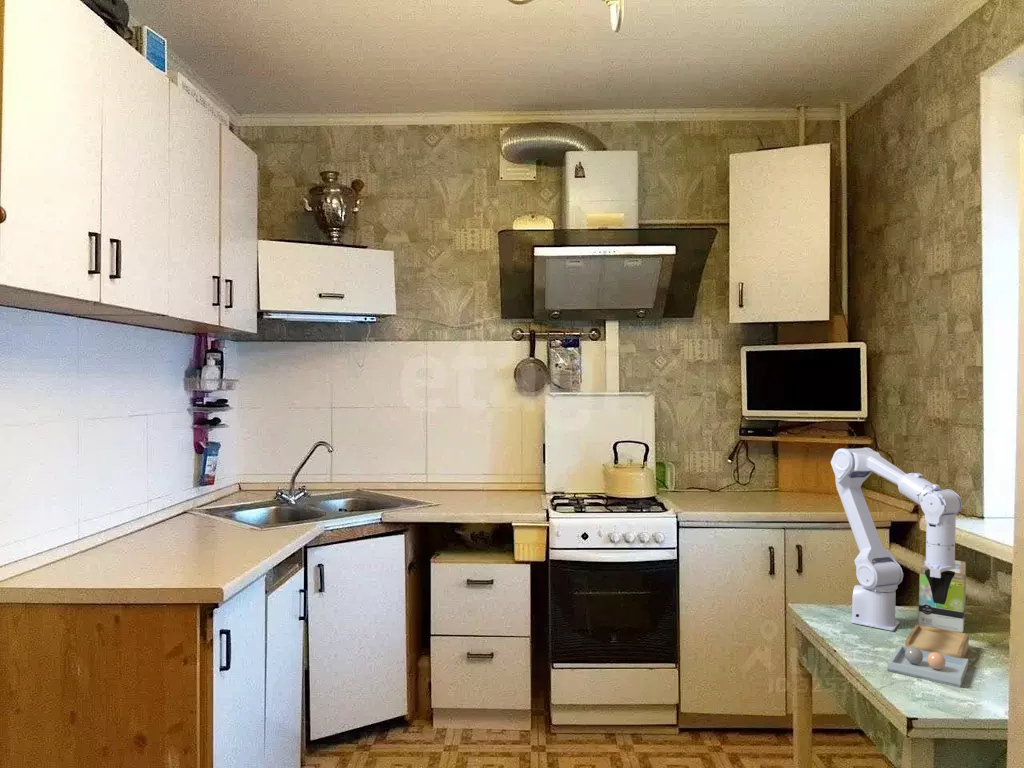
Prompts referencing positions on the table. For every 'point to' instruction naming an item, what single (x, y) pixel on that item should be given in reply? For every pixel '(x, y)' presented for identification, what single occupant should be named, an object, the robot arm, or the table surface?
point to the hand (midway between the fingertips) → (939, 603)
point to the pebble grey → (914, 655)
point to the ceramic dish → (929, 668)
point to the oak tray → (938, 641)
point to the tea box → (954, 607)
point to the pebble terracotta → (936, 660)
